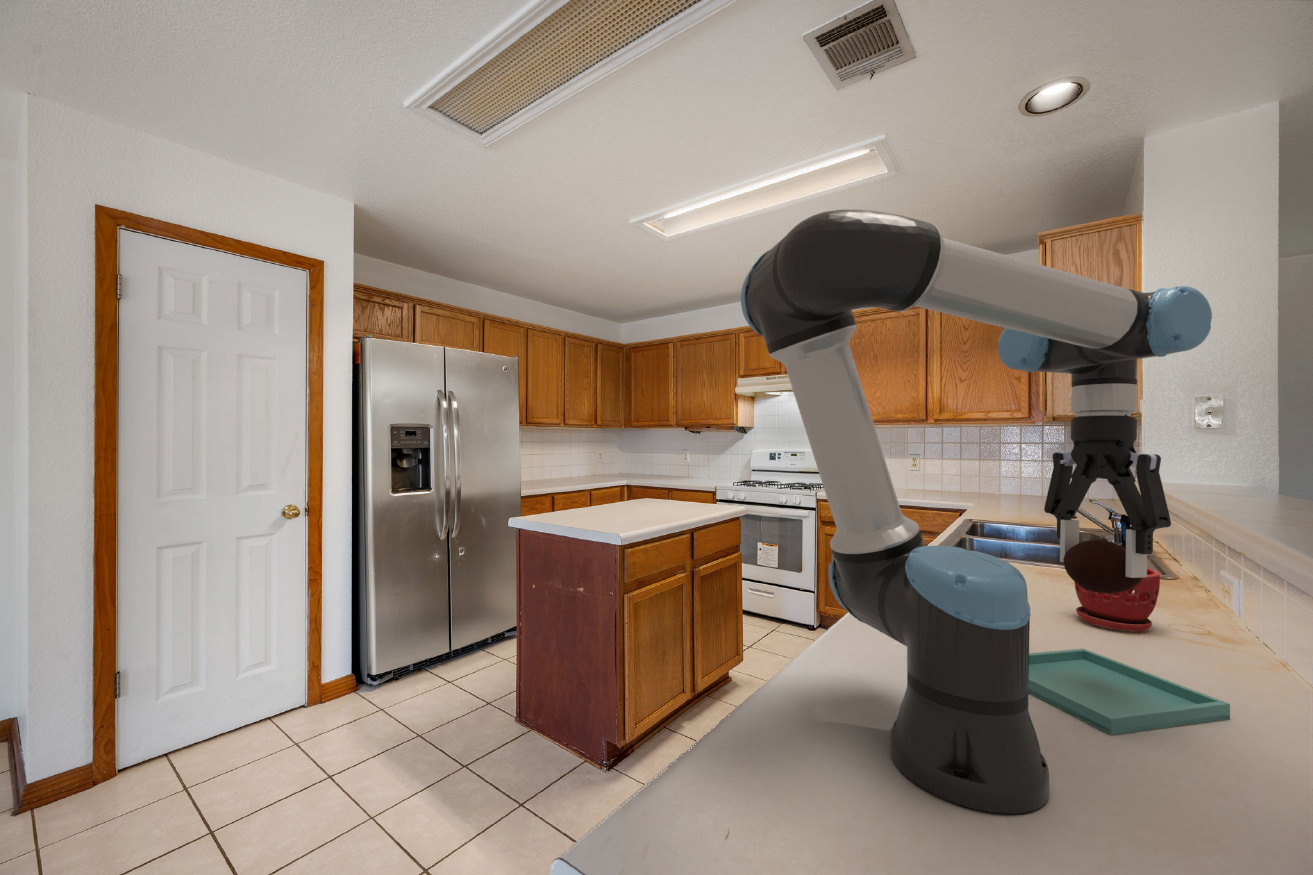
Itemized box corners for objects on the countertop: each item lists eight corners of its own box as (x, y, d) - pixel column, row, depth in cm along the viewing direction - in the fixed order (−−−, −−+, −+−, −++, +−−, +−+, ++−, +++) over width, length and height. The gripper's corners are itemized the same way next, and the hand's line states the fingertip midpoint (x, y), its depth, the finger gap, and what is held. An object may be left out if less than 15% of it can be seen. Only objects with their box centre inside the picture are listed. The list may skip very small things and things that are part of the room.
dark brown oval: (1074, 582, 85) (1074, 533, 85) (1151, 596, 77) (1152, 543, 78) (1052, 588, 81) (1053, 536, 81) (1132, 604, 73) (1132, 547, 73)
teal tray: (1111, 735, 67) (1111, 718, 67) (983, 670, 86) (983, 657, 86) (1230, 718, 71) (1230, 703, 71) (1083, 660, 90) (1083, 648, 90)
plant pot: (1092, 632, 104) (1092, 570, 104) (1063, 612, 116) (1062, 556, 116) (1176, 640, 100) (1175, 575, 100) (1136, 618, 112) (1136, 560, 113)
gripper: (1211, 412, 70) (1209, 587, 69) (1054, 419, 91) (1052, 553, 91) (1167, 410, 68) (1164, 589, 68) (1018, 418, 89) (1015, 554, 89)
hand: (1100, 568), depth 79 cm, fingers closed on dark brown oval, 9 cm apart
